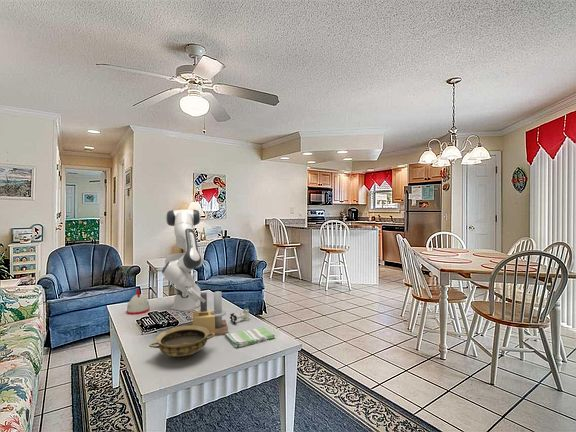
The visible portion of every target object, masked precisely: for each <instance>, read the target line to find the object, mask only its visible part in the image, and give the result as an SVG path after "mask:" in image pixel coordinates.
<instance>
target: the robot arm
mask: <svg viewBox="0 0 576 432" xmlns="http://www.w3.org/2000/svg"><path fill="white" fill-rule="evenodd" d="M201 218H202V216H201V213H200V211H199V210H197V209H187V208H185V209H183V208H182V209H176V210H174V209H172V210H169V211H167V212H166V215H165V221H166V223H167V226H171V227H174V229H173V230H174V236H175V245H176V246H177V247H178V248H179V249H182V250H183V251H185V252H181V253H180V252H179V253H178V252H177V253H171V254H168V255H167V256H165V260H164V264H165V265H164V266H163V267H162V270H161V273H162V275H163V276H164V278H165V279H166V280H168V282H170V283H171V284H173V285H174V286H175V288H176V289H175V293H176V294H175V296H174V297H173V305H172V306H171V308H170V309H171V310H175V311H181V312H182V311H183V312H185V311H190V310H194V309H196V308H199V307H200V304H199V303H198V302H200V301H201V302H203V303H204V302H205V301H206V300H205V299H204V298H202V297H201V293H202V292H201V290H202V289H201V288H200V286H199V285H198V284H197V283H196V282H195V280H194V276H193V275H192V274H190V272H191V271H192V270H194V269H195V268H196V269H197V268H200V267H202V266H203V264H204V261H205V259H204V256H203V255H202V253H200V252H199V248H198V241H197V236H196V232H195V230H194V227H195V226H198V225H199V224H200V222H201V220H202V219H201Z"/></svg>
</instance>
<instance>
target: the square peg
mask: <svg viewBox="0 0 576 432" xmlns="http://www.w3.org/2000/svg"><path fill="white" fill-rule="evenodd" d="M201 297H202V298H204V299H205V300H206V301H205V302H204V303H203V302H201V301H200V300H199V303H200V304H199V307H200V308H199V311H200V312H207V310H208V293H207V292H201Z"/></svg>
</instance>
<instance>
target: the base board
mask: <svg viewBox="0 0 576 432" xmlns="http://www.w3.org/2000/svg"><path fill="white" fill-rule="evenodd" d="M191 325H192V326H193V322H188V323H186V324H185V326H191ZM209 333H215V335H214V337H217V336H218V337H219V336H225V334H227V333H229V328H228V325H227V320H226V319H222V327H219V328H216V327H215V331H209ZM210 336H212V335H208V336H207V338H208V337H210Z"/></svg>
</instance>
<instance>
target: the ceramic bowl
mask: <svg viewBox="0 0 576 432" xmlns="http://www.w3.org/2000/svg"><path fill="white" fill-rule="evenodd" d="M208 335H212V336H210V337H207V336H208ZM214 335H215V333H209V331H208V329H206V328H204V327H201V326H192V325H191V326H186V325H183V326H182V325H181V326H175V327H173V328H169V329H166V330H164V331H162V332H161V333H158V335H157V336H156V339H155V341H156V342H152V343H149V345H148V346H149V347H150V348H153V349H159V351H160V352H161V353H162V354H164V355H166V356H170V357H175V358H176V359H186V358H187V359H188V358H189V357H191V356H192V355H193V354H195V353H197V352H200V350H201V349H203V348H204V347H205V346H206V344H207V342H208V341H209V340H210V339H213V338H214V337H215V336H214Z"/></svg>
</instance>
